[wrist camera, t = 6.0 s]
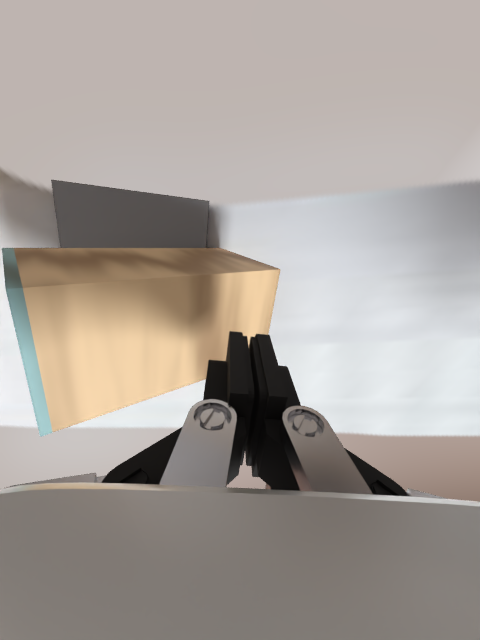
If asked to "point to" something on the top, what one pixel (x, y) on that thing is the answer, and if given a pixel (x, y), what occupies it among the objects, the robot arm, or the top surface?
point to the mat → (127, 218)
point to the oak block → (127, 322)
